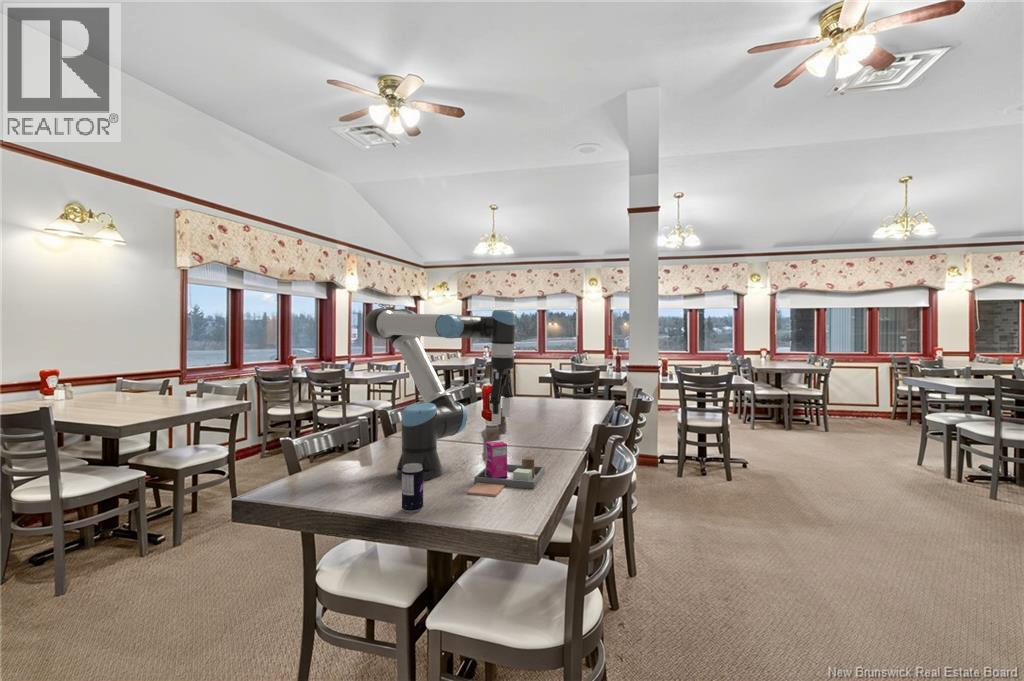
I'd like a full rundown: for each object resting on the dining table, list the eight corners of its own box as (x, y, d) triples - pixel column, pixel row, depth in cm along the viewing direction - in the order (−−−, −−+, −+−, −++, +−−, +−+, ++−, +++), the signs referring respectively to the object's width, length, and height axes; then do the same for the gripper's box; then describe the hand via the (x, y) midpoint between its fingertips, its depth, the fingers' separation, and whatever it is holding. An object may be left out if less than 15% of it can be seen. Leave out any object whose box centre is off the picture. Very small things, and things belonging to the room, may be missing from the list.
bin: (474, 483, 148) (474, 477, 148) (490, 468, 165) (490, 463, 165) (534, 488, 144) (534, 482, 144) (544, 472, 160) (544, 466, 160)
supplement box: (484, 475, 157) (484, 441, 157) (501, 473, 160) (501, 440, 160) (491, 480, 152) (491, 445, 152) (508, 478, 154) (508, 443, 154)
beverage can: (423, 512, 124) (423, 467, 124) (401, 514, 123) (401, 468, 123) (423, 505, 129) (423, 462, 129) (402, 506, 128) (402, 463, 128)
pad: (467, 493, 139) (467, 491, 139) (477, 484, 147) (477, 482, 147) (496, 496, 136) (496, 494, 136) (504, 486, 145) (504, 485, 145)
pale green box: (513, 484, 148) (513, 471, 148) (517, 480, 152) (517, 468, 152) (528, 485, 147) (528, 473, 147) (532, 482, 150) (532, 469, 150)
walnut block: (521, 477, 155) (521, 459, 155) (522, 473, 159) (522, 456, 159) (534, 477, 155) (534, 459, 155) (534, 474, 159) (534, 456, 159)
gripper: (504, 359, 143) (503, 428, 143) (521, 355, 167) (519, 414, 168) (481, 358, 145) (479, 426, 145) (500, 354, 169) (499, 413, 169)
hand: (501, 420), depth 156 cm, fingers open, 13 cm apart
